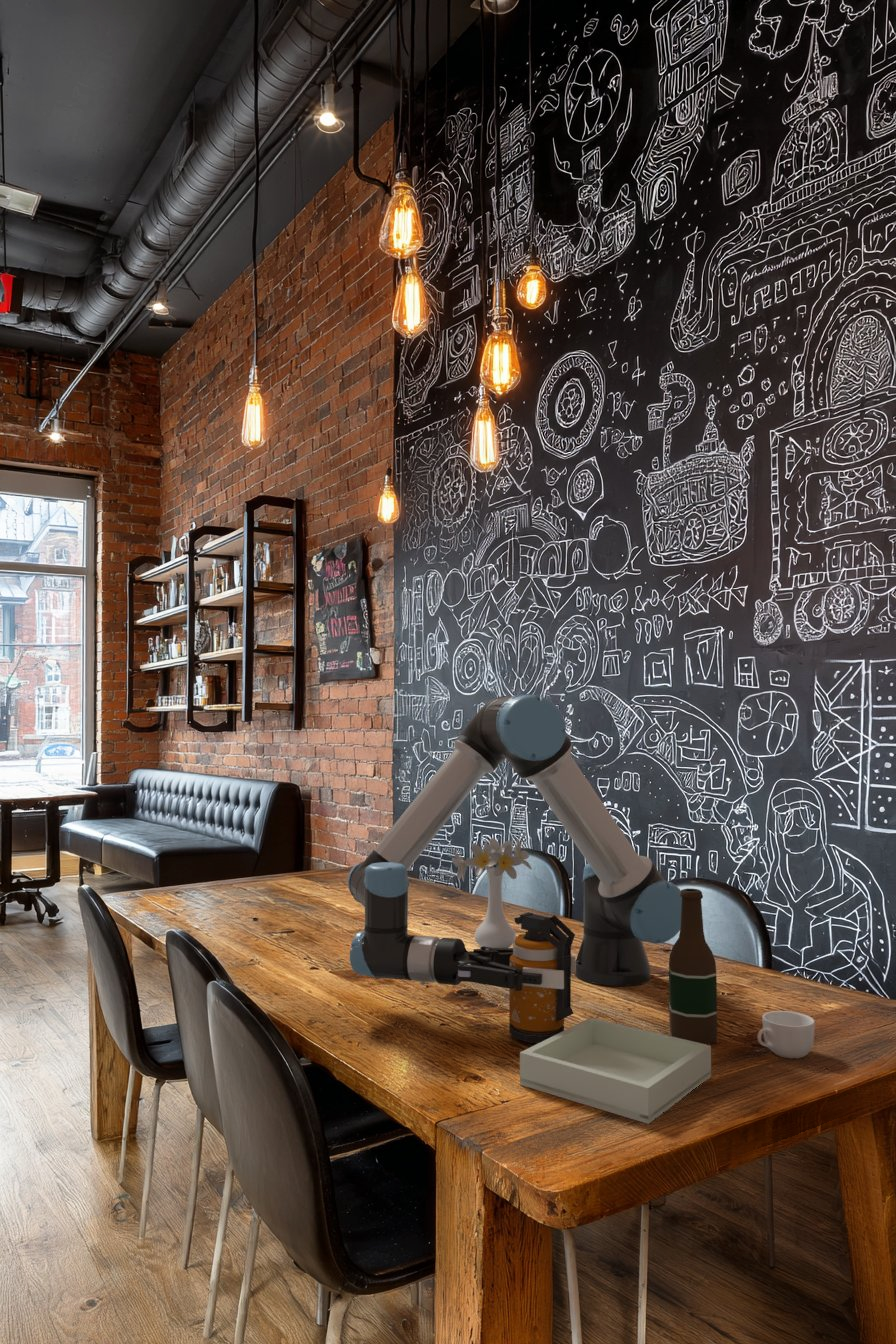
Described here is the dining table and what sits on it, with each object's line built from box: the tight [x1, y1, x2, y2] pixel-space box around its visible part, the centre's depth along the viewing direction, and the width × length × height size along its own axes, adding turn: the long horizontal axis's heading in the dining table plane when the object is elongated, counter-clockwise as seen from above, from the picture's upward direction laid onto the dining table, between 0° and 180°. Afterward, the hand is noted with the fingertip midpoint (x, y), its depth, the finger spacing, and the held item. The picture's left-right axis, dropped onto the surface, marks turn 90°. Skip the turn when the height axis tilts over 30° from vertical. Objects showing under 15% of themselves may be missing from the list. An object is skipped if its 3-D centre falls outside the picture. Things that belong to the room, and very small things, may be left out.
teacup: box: [757, 1010, 816, 1059], centre depth 142 cm, size 10×8×5 cm
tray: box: [519, 1017, 712, 1125], centre depth 132 cm, size 20×20×4 cm
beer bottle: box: [668, 888, 718, 1045], centre depth 150 cm, size 8×8×24 cm
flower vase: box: [451, 837, 533, 948], centre depth 205 cm, size 13×18×25 cm
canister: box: [508, 911, 576, 1045], centre depth 149 cm, size 9×11×20 cm
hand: (569, 971), depth 148 cm, fingers closed on canister, 9 cm apart
